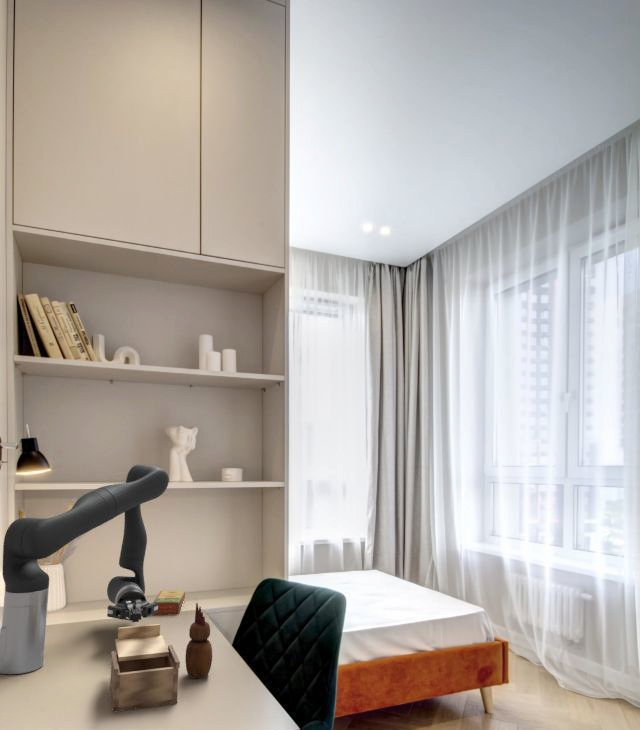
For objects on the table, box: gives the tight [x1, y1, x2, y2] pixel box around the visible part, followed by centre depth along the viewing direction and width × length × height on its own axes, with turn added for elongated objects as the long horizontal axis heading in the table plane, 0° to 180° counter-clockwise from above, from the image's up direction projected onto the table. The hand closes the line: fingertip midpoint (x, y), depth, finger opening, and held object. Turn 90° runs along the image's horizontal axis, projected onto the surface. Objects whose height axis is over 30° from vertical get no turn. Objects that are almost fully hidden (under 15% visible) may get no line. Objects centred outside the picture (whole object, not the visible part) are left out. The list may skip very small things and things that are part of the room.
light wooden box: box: [109, 644, 181, 713], centre depth 121 cm, size 12×13×8 cm
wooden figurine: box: [185, 602, 213, 679], centre depth 132 cm, size 7×6×15 cm
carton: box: [152, 590, 186, 616], centre depth 190 cm, size 8×16×4 cm, turn 6°
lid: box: [114, 623, 169, 662], centre depth 128 cm, size 10×13×3 cm
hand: (135, 617), depth 143 cm, fingers closed
